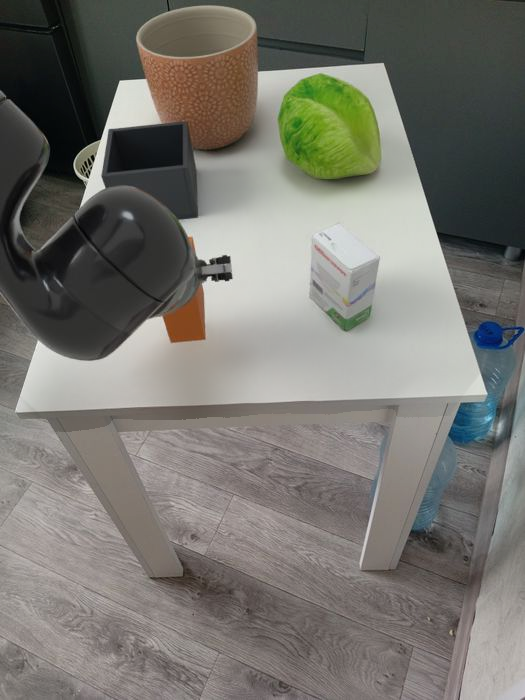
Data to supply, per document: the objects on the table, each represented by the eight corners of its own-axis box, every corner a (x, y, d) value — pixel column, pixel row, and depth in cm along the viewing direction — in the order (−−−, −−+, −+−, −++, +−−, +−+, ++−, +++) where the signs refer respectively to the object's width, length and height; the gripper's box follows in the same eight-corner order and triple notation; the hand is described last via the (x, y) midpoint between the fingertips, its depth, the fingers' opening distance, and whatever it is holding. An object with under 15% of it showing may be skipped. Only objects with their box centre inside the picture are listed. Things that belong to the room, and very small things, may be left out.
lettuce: (350, 219, 87) (413, 138, 79) (251, 150, 83) (306, 57, 74) (349, 188, 101) (402, 116, 93) (264, 128, 97) (311, 47, 88)
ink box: (371, 316, 73) (383, 255, 63) (344, 332, 71) (351, 272, 62) (334, 281, 77) (339, 219, 68) (308, 295, 76) (309, 234, 66)
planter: (138, 139, 103) (110, 37, 88) (210, 96, 112) (196, -4, 96) (212, 176, 94) (196, 70, 79) (283, 126, 103) (281, 21, 88)
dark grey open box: (118, 225, 87) (101, 176, 80) (124, 178, 96) (108, 128, 88) (197, 217, 88) (188, 167, 80) (196, 170, 96) (187, 120, 88)
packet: (170, 343, 64) (153, 288, 56) (171, 296, 69) (155, 240, 61) (205, 339, 64) (193, 284, 56) (204, 293, 69) (192, 236, 61)
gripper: (229, 224, 46) (234, 237, 63) (70, 239, 46) (117, 248, 62) (238, 307, 47) (240, 298, 64) (82, 323, 47) (126, 309, 64)
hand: (179, 273), depth 63 cm, fingers closed on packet, 4 cm apart
